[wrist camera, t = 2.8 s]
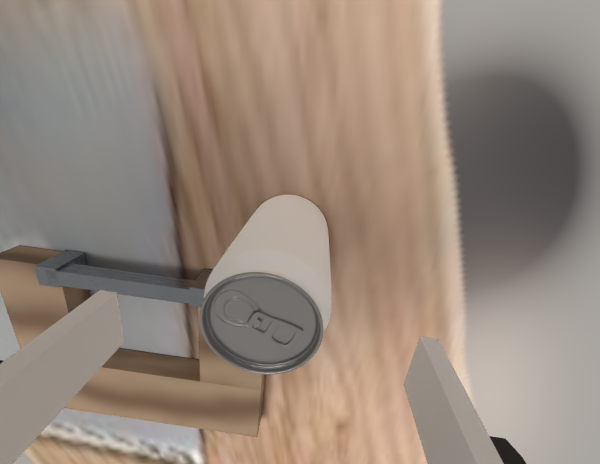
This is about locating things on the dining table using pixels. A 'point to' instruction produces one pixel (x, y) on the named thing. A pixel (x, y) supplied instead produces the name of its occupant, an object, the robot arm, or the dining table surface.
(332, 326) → the dining table surface
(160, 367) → the wooden frame board
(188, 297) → the cross rail
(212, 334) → the can
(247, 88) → the dining table surface
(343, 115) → the dining table surface
